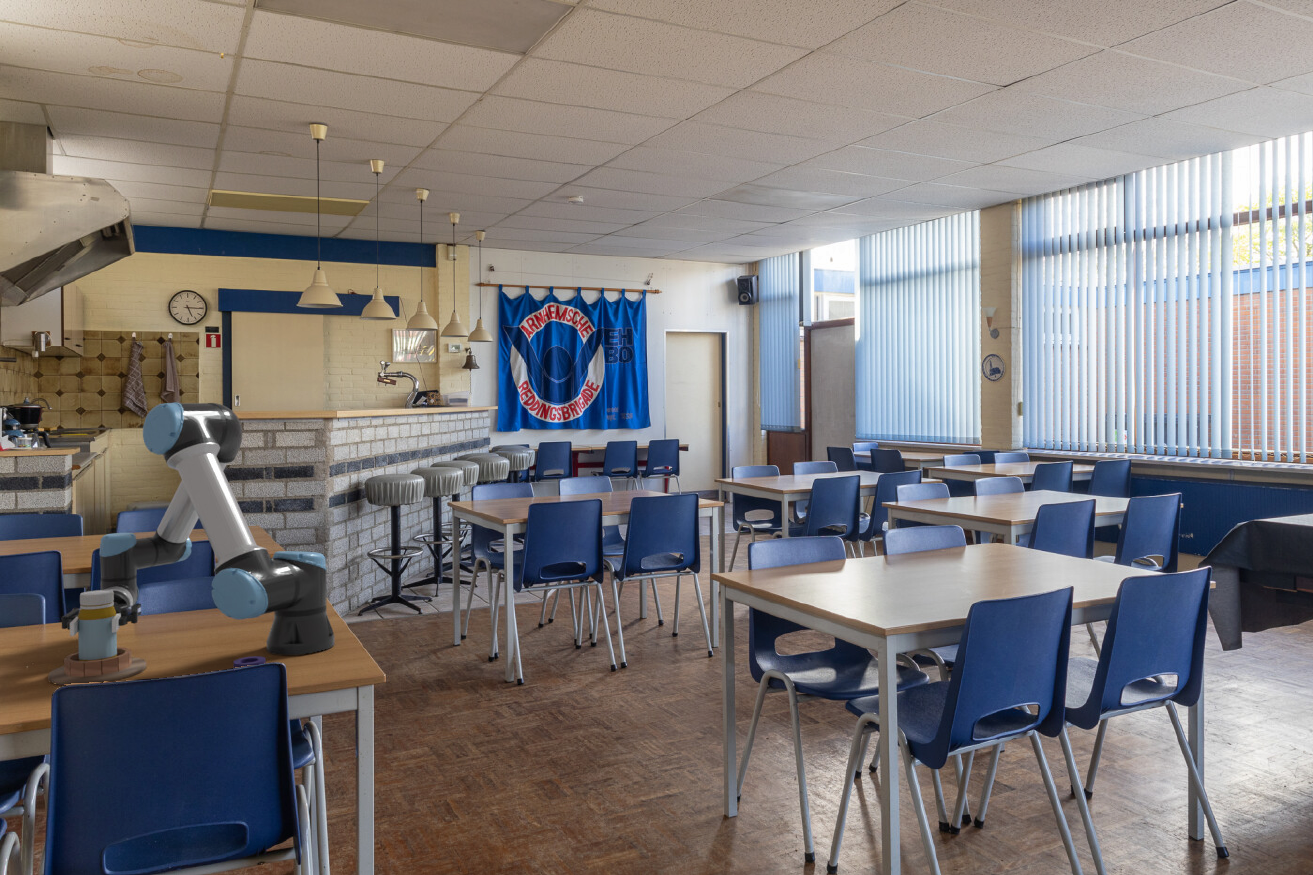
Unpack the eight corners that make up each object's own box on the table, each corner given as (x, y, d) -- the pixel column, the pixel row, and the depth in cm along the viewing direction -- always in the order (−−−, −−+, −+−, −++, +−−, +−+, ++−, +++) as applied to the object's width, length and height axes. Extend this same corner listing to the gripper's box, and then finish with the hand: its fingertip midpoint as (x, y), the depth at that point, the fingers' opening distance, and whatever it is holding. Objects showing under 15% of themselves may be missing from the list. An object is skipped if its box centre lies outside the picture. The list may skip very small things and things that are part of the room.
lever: (248, 669, 196) (247, 655, 196) (272, 671, 195) (271, 657, 194) (206, 685, 185) (206, 670, 185) (231, 688, 183) (231, 673, 183)
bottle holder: (161, 670, 195) (160, 652, 194) (68, 691, 180) (67, 671, 180) (125, 656, 205) (124, 639, 205) (34, 675, 191) (34, 656, 191)
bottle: (94, 656, 196) (93, 589, 196) (124, 657, 196) (123, 589, 196) (71, 665, 190) (69, 595, 189) (102, 666, 189) (100, 595, 189)
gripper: (160, 617, 213) (147, 640, 192) (62, 625, 205) (37, 650, 184) (159, 586, 213) (146, 606, 192) (61, 593, 205) (36, 614, 184)
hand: (93, 627), depth 188 cm, fingers closed on bottle, 7 cm apart
